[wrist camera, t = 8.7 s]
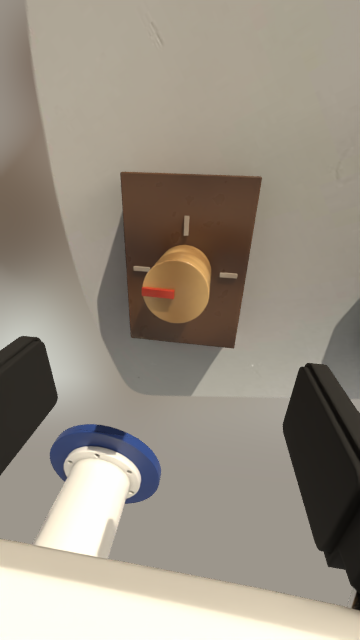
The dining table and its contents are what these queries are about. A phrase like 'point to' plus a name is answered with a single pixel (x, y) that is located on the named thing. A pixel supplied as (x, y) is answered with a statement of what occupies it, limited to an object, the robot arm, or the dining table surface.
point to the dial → (178, 285)
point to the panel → (194, 230)
